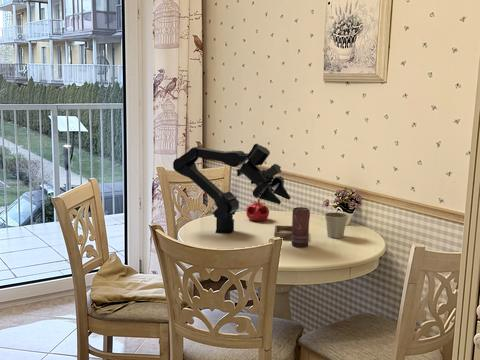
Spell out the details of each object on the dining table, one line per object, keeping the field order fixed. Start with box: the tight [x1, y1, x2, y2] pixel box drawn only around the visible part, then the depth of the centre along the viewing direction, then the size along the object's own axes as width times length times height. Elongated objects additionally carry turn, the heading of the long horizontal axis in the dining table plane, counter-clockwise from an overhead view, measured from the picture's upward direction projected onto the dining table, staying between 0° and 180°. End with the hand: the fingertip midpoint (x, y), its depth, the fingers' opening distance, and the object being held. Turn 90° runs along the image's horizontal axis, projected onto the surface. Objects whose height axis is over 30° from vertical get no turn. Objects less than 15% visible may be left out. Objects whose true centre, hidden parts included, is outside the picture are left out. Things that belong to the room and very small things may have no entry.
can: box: [291, 206, 311, 249], centre depth 207 cm, size 6×6×14 cm
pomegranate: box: [245, 198, 270, 222], centre depth 246 cm, size 10×10×9 cm
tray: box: [273, 224, 292, 241], centre depth 222 cm, size 12×12×2 cm
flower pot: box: [323, 211, 349, 239], centre depth 221 cm, size 9×9×9 cm
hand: (285, 201), depth 213 cm, fingers open, 9 cm apart
